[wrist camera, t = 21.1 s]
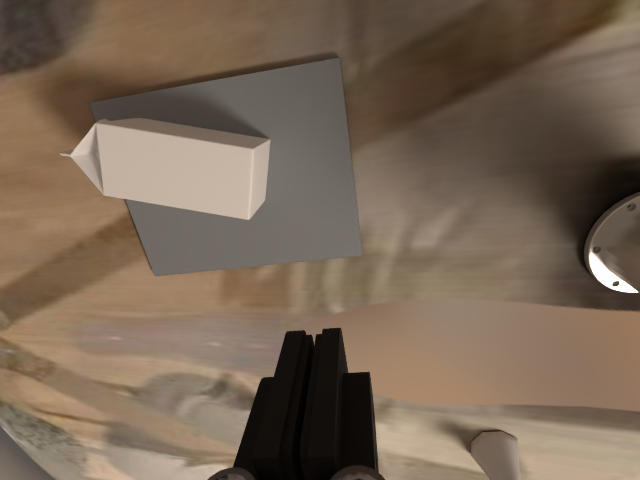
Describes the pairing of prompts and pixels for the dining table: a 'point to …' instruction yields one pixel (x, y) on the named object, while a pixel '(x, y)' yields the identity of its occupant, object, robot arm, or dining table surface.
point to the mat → (282, 180)
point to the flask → (497, 455)
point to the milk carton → (176, 165)
